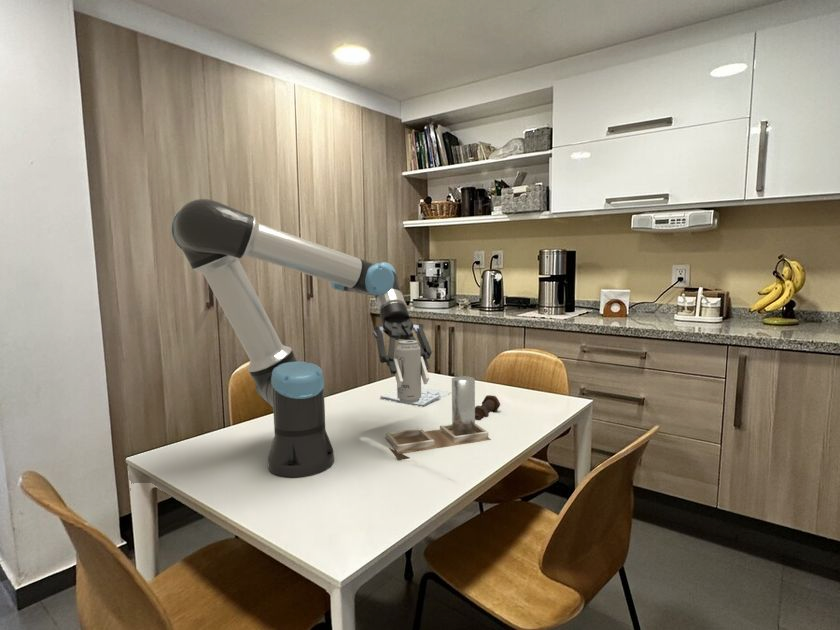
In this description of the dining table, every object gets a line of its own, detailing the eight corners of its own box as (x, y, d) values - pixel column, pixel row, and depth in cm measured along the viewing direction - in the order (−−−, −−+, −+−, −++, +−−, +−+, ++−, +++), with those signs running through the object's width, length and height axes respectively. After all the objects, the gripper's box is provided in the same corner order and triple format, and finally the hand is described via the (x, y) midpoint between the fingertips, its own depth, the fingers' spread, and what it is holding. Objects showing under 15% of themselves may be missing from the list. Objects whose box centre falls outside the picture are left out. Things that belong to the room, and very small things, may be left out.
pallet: (398, 460, 114) (398, 448, 113) (384, 442, 125) (384, 431, 125) (491, 445, 122) (491, 433, 122) (470, 430, 133) (470, 419, 133)
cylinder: (463, 440, 122) (463, 383, 120) (447, 434, 126) (446, 378, 125) (479, 434, 125) (479, 379, 124) (463, 428, 130) (463, 375, 128)
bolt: (472, 430, 139) (489, 414, 152) (486, 424, 136) (503, 408, 149) (463, 412, 139) (481, 397, 152) (476, 406, 137) (494, 391, 150)
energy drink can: (392, 399, 120) (391, 341, 119) (412, 395, 124) (411, 338, 122) (406, 405, 116) (405, 344, 114) (426, 400, 119) (425, 341, 118)
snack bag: (378, 400, 166) (378, 394, 166) (412, 387, 183) (412, 382, 182) (422, 409, 155) (422, 402, 155) (455, 394, 172) (455, 389, 171)
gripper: (422, 316, 135) (445, 386, 122) (356, 320, 129) (373, 394, 115) (428, 299, 130) (453, 370, 116) (360, 302, 123) (378, 378, 110)
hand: (413, 382), depth 116 cm, fingers closed on energy drink can, 6 cm apart
